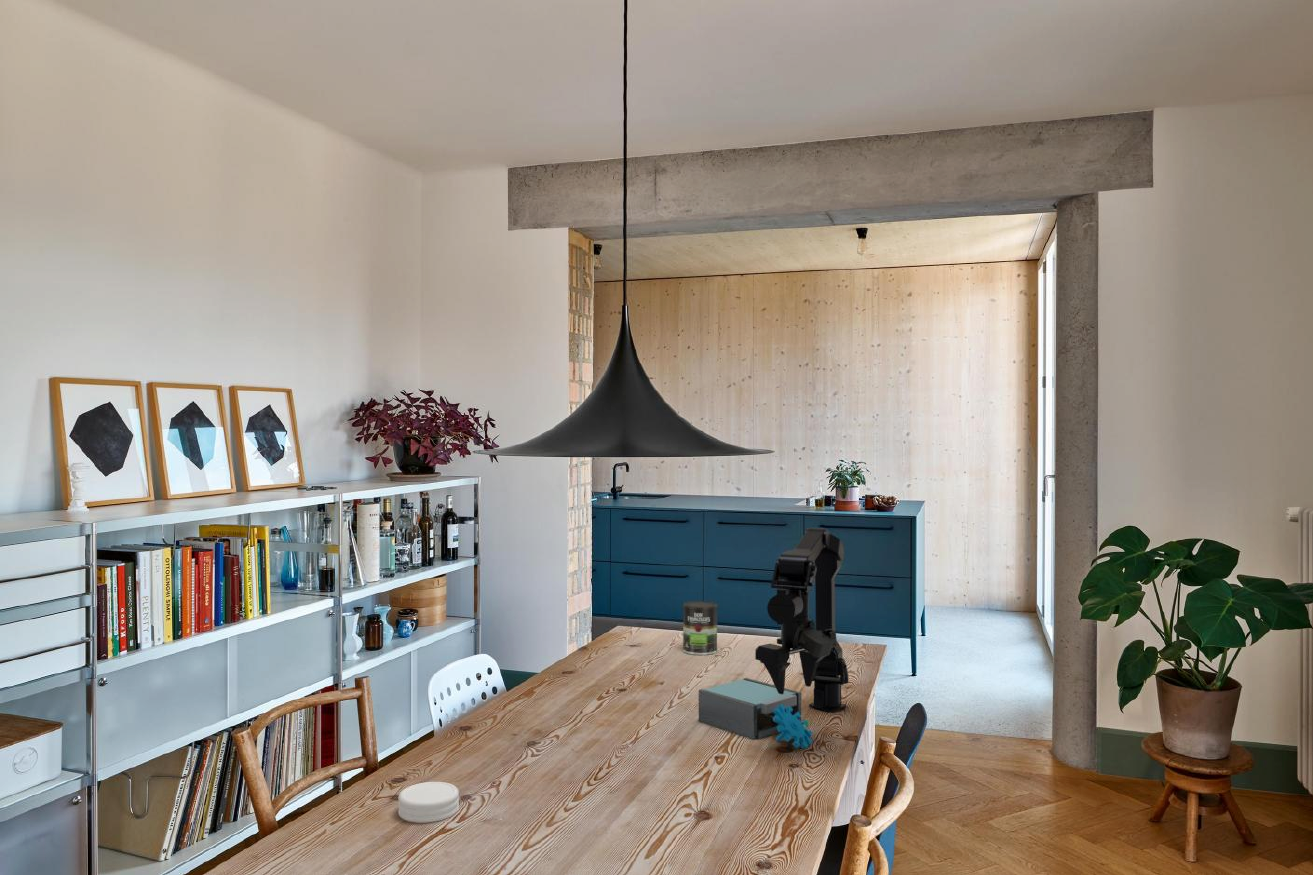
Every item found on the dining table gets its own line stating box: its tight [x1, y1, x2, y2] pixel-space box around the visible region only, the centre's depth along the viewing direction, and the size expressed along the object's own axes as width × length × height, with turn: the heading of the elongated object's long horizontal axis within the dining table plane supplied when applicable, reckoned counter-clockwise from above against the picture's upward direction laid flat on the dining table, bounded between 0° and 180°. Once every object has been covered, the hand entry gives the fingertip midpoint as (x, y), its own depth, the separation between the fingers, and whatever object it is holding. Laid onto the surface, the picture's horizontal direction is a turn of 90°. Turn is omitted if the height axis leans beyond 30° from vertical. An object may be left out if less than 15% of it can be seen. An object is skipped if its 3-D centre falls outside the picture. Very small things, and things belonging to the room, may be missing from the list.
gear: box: [772, 705, 813, 750], centre depth 190 cm, size 11×6×10 cm
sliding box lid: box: [703, 678, 797, 715], centre depth 203 cm, size 13×18×2 cm
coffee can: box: [682, 600, 719, 656], centre depth 271 cm, size 10×10×14 cm
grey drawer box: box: [698, 677, 802, 741], centre depth 203 cm, size 16×17×7 cm
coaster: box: [397, 781, 460, 824], centre depth 155 cm, size 10×10×4 cm
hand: (794, 690), depth 189 cm, fingers open, 8 cm apart
